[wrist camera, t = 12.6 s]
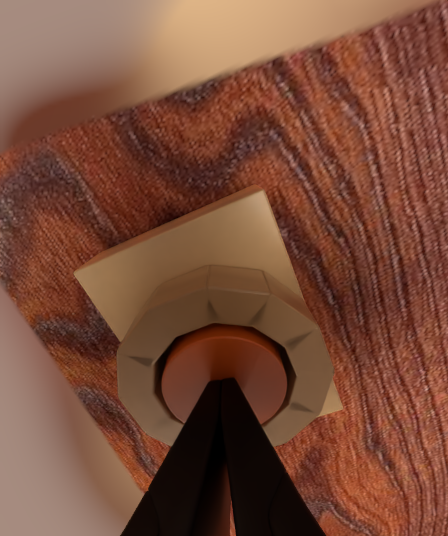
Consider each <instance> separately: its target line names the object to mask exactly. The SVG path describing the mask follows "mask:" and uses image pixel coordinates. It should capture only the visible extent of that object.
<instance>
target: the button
mask: <svg viewBox="0 0 448 536" xmlns="http://www.w3.org/2000/svg"><path fill="white" fill-rule="evenodd" d="M231 377H234V378H235V379H236V381H237V382H238V384H239V386H240V388H241V390H242V392H243V393H244V395H245V397H246V399H247V401H248V402H249V404H250V406H251V408H252V410H253V411H254V413H255V415H256V417H257V419H258V420H259V422H260V424H262V423H264V422H266V421H267V420H268V419H269V418H271V417H272V416H273V415H274V414H275V413H276V412H277V410H278V409H279V408H280V406H281V405H282V403H283V401H284V398H285V395H286V391H287V377H286V372H285V369H284V366H283V363H282V359H281V356H280V353H279V350H278V346H277V343H276V341H274V340H273V339H271V338H270V337H268V336H266V335H265V334H263V333H262V332H260V331H259V330H257V329H256V328H254V327H251V326H241V325H230V324H220V323H212V324H209V325H207V326H204V327H201V328H199V329H196V330H194V331H191V332H188V333H186V334H183V335H180V336H178V337H176V338H175V339H174V340H173V341H172V343H171V347H170V350H169V354H168V358H167V361H166V365H165V368H164V372H163V376H162V382H161V386H162V393H163V397H164V400H165V403H166V404H167V406H168V408H169V409H170V410H171V412H172V413H173V414H174V415H175V416H176V417H177V418H178V419H179V420H181V421H182V422H184V423H185V422H186V420H187V418H188V417H189V415H190V413H191V411H192V410H193V408H194V406H195V404H196V402H197V401H198V399H199V397H200V395H201V394H202V392H203V390H204V388H205V387H206V385H207V383H208V382H209V381H212V380H218V379H220V380H221V381H222V380H223V379H225V378H231Z"/></svg>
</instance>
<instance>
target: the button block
mask: <svg viewBox="0 0 448 536" xmlns="http://www.w3.org/2000/svg"><path fill="white" fill-rule="evenodd" d="M73 274H74V276H75V277H76V278H77V280H78V281H79V283H80V284H81V286H82V287H83V289H84V290H85V292H86V293H87V294H88V296H89V297H90V299H91V300H92V302H93V303H94V305H95V306H96V307H97V309H98V310H99V312H100V313H101V315H102V316H103V318H104V319H105V321H106V322H107V323H108V325H109V326H110V328H111V329H112V331H113V332H114V334H115V335H116V336H117V338H118V339H119V341H120V342H121V344H120V346H119V347H118V349H117V353H116V354H117V385H118V397H119V400H120V401H121V402H122V403H123V405H124V406H125V407H126V409H127V410H128V411H129V413H130V414H131V415H132V417H133V418H134V419H135V420H136V422H137V423H138V424H139V426H140V427H141V428H142V430H143V431H144V432H145V433H146V435H148V436H151V437H153V438H155V439H157V440H159V441H161V442H163V443H165V444H167V445H169V446H171V447H172V445H173V443H174V441H175V440H176V438H177V436H178V434H179V433H180V431H181V429H182V427H183V426H184V424H185V423H184V422H182V421H181V420H179V419H178V418H177V417H176V416H175V415H174V414H173V413H172V412H171V410H170V409H169V408H168V406H167V404H166V403H165V400H164V397H163V393H162V386H161V382H162V376H163V372H164V368H165V365H166V361H167V358H168V354H169V350H170V347H171V343H172V341H173V340H174V339H175V338H176V337H178V336H180V335H183V334H186V333H188V332H191V331H194V330H196V329H199V328H201V327H204V326H207V325H209V324H212V323H220V324H230V325H241V326H251V327H254V328H256V329H257V330H259V331H260V332H262V333H263V334H265V335H266V336H268V337H270V338H271V339H273V340H274V341H276V343H277V346H278V350H279V353H280V356H281V359H282V363H283V366H284V369H285V372H286V377H287V391H286V395H285V398H284V401H283V403H282V405H281V406H280V408H279V409H278V410H277V412H276V413H275V414H274V415H273V416H272V417H271V418H269V419H268V420H267V421H266V422H264V423H262V424H261V426H262V428H263V429H264V431H265V433H266V435H267V437H268V439H269V440H270V442H271V444H272V446H273V447H275V446H278V445H282V444H283V443H287V442H288V441H289V440H291V439H292V438H293V437H294V436H295V435H296V434H298V433H299V432H300V431H301V430H302V429H303V428H305V427H306V426H307V425H308V424H309V423H311V422H312V421H313V420H314V419H315V418H316V417H320V416H323V415H326V414H329V413H333V412H336V411H339V410H342V409H343V405H342V402H341V400H340V397H339V394H338V391H337V389H336V386H335V383H334V380H333V376H334V366H333V363H332V361H331V358H330V355H329V352H328V349H327V346H326V344H325V341H324V338H323V335H322V332H321V329H320V327H319V325H318V323H317V322H316V320H315V318H314V317H313V315H312V313H311V312H310V310H309V308H308V307H307V305H306V303H305V300H304V297H303V294H302V292H301V289H300V286H299V283H298V281H297V278H296V275H295V272H294V270H293V267H292V264H291V261H290V258H289V256H288V253H287V250H286V247H285V245H284V242H283V239H282V236H281V234H280V231H279V228H278V225H277V222H276V220H275V217H274V214H273V211H272V209H271V206H270V203H269V200H268V198H267V195H266V192H265V190H264V189H263V188H261V187H259V186H258V185H256V184H253V185H251V186H249V187H247V188H244V189H242V190H240V191H238V192H235V193H233V194H231V195H229V196H226V197H224V198H222V199H220V200H217V201H215V202H213V203H211V204H208V205H206V206H204V207H202V208H199V209H197V210H195V211H193V212H190V213H188V214H186V215H183V216H181V217H179V218H177V219H174V220H172V221H170V222H168V223H165V224H163V225H161V226H159V227H156V228H154V229H152V230H150V231H147V232H145V233H143V234H141V235H138V236H136V237H134V238H132V239H129V240H127V241H125V242H123V243H120V244H118V245H116V246H114V247H111V248H109V249H107V250H104V251H102V252H100V253H98V254H97V255H96V256H94V257H93V258H92V259H90V260H89V261H88V262H86V263H85V264H83V265H82V266H81V267H79V268H78V269H77V270H75V271H74V272H73Z"/></svg>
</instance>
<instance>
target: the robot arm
mask: <svg viewBox="0 0 448 536" xmlns="http://www.w3.org/2000/svg"><path fill="white" fill-rule="evenodd" d="M148 490H149V491H146V493H145V494H144V496H143V498H142V500H141V502H140V503H139V505H138V507H137V508H136V510H135V512H134V514H133V515H132V517H131V519H130V520H129V522H128V524H127V525H126V527H125V529H124V531H123V532H122V534H121V535H120V536H230V505H231V500H232V508H233V515H234V523H235V530H236V536H326V535H325V533H324V532H323V530H322V529H321V527H320V526H319V524H318V523H317V521H316V519H315V518H314V516H313V515H312V513H311V512H310V510H309V509H308V507H307V506H306V504H305V502H304V500H303V499H302V497H301V495H300V494H299V492H298V490H297V489H296V487H295V485H294V483H293V482H292V480H291V478H290V476H289V474H288V473H287V472H286V469H285V467H284V466H283V464H282V462H281V460H280V458H279V457H278V455H277V453H276V451H275V449H274V448H273V446H272V444H271V442H270V440H269V439H268V437H267V435H266V433H265V431H264V429H263V428H262V426H261V424H260V422H259V420H258V419H257V417H256V415H255V413H254V411H253V410H252V408H251V406H250V404H249V402H248V401H247V399H246V397H245V395H244V393H243V392H242V390H241V388H240V386H239V384H238V382H237V381H236V379H235V378H234V377H231V378H225V379H223V380H222V381H221V380H220V379H218V380H212V381H209V382H208V383H207V385H206V387H205V388H204V390H203V392H202V394H201V395H200V397H199V399H198V401H197V402H196V404H195V406H194V408H193V410H192V411H191V413H190V415H189V417H188V418H187V420H186V422H185V424H184V426H183V427H182V429H181V431H180V433H179V434H178V436H177V438H176V440H175V441H174V443H173V445H172V447H171V449H170V450H169V452H168V454H167V456H166V457H165V459H164V461H163V463H162V465H161V466H160V468H159V470H158V472H157V473H156V475H155V477H154V479H153V480H152V482H151V484H150V486H149V488H148Z"/></svg>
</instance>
